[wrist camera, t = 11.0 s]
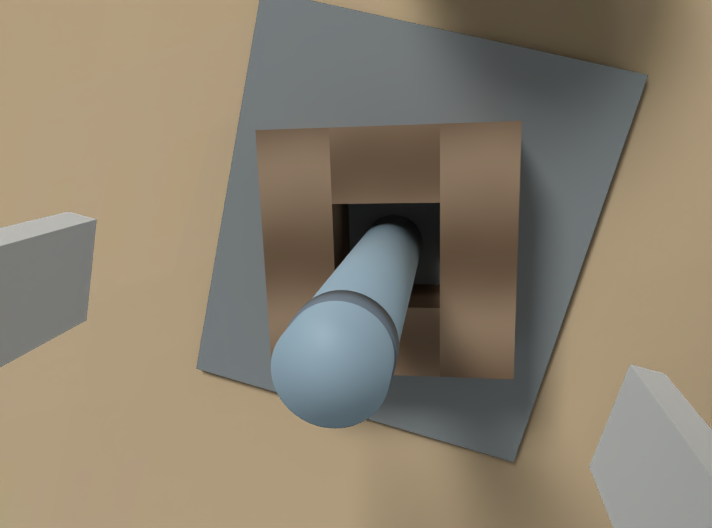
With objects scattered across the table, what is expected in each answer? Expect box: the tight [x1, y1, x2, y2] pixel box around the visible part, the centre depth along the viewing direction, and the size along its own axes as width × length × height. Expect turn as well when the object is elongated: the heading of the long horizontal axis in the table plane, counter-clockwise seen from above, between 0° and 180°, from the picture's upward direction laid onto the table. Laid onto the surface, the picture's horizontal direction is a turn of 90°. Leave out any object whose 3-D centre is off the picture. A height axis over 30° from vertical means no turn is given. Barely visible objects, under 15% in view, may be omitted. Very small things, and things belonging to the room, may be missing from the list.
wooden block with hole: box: [255, 121, 522, 379], centre depth 27 cm, size 11×11×4 cm
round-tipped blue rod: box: [271, 215, 422, 428], centre depth 21 cm, size 3×3×16 cm
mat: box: [196, 0, 648, 462], centre depth 29 cm, size 20×18×1 cm
